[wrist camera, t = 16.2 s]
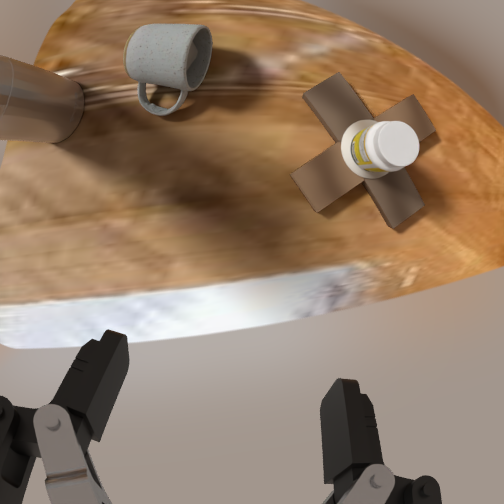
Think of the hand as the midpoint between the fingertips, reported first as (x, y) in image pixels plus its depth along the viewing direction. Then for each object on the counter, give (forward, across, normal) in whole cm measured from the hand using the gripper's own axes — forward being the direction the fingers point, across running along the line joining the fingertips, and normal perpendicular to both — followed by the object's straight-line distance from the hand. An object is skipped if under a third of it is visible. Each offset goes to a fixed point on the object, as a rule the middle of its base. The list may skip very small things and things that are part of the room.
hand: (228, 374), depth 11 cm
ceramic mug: (+30, +12, -9) cm, 34 cm away
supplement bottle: (+26, -11, -6) cm, 29 cm away
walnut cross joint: (+28, -11, -5) cm, 30 cm away
